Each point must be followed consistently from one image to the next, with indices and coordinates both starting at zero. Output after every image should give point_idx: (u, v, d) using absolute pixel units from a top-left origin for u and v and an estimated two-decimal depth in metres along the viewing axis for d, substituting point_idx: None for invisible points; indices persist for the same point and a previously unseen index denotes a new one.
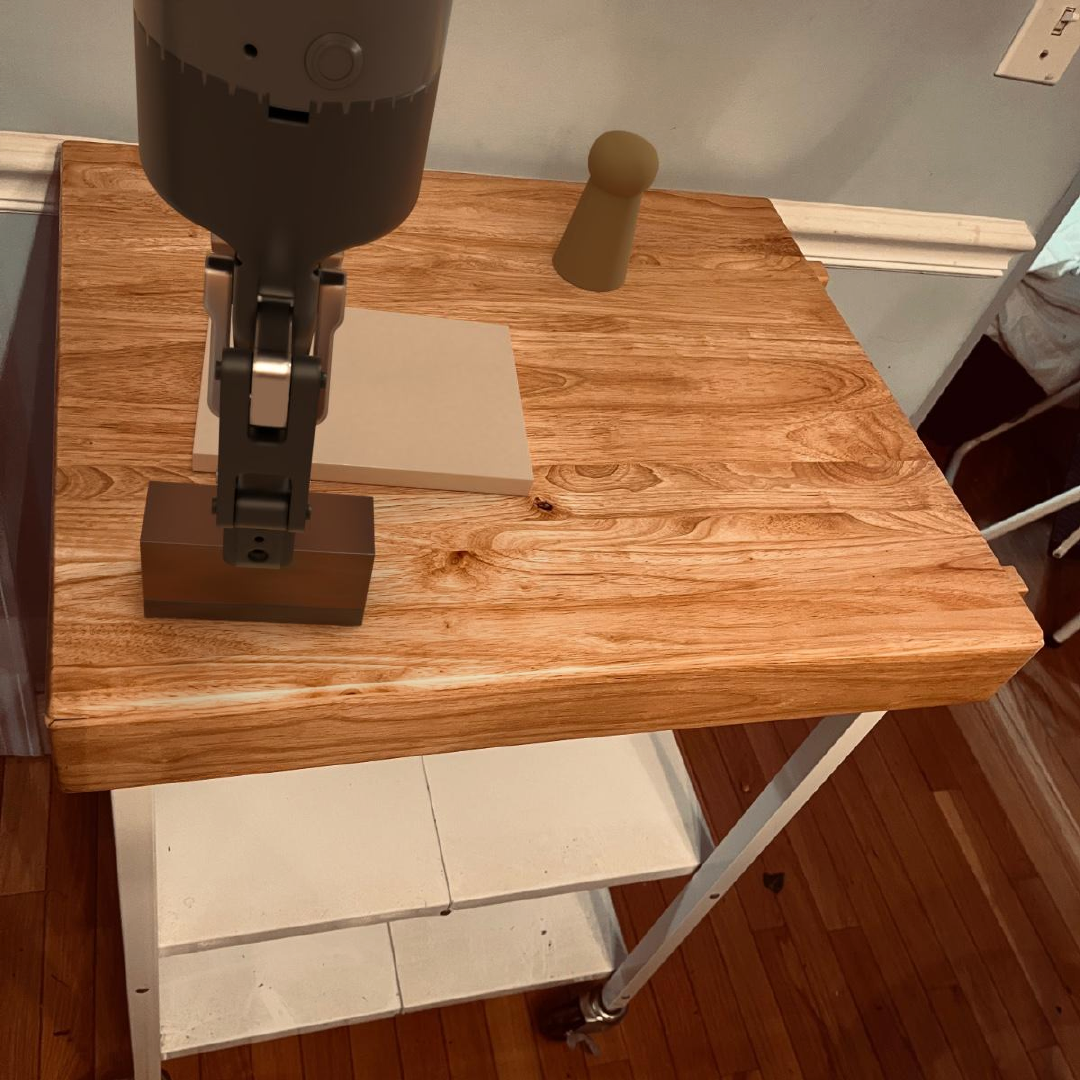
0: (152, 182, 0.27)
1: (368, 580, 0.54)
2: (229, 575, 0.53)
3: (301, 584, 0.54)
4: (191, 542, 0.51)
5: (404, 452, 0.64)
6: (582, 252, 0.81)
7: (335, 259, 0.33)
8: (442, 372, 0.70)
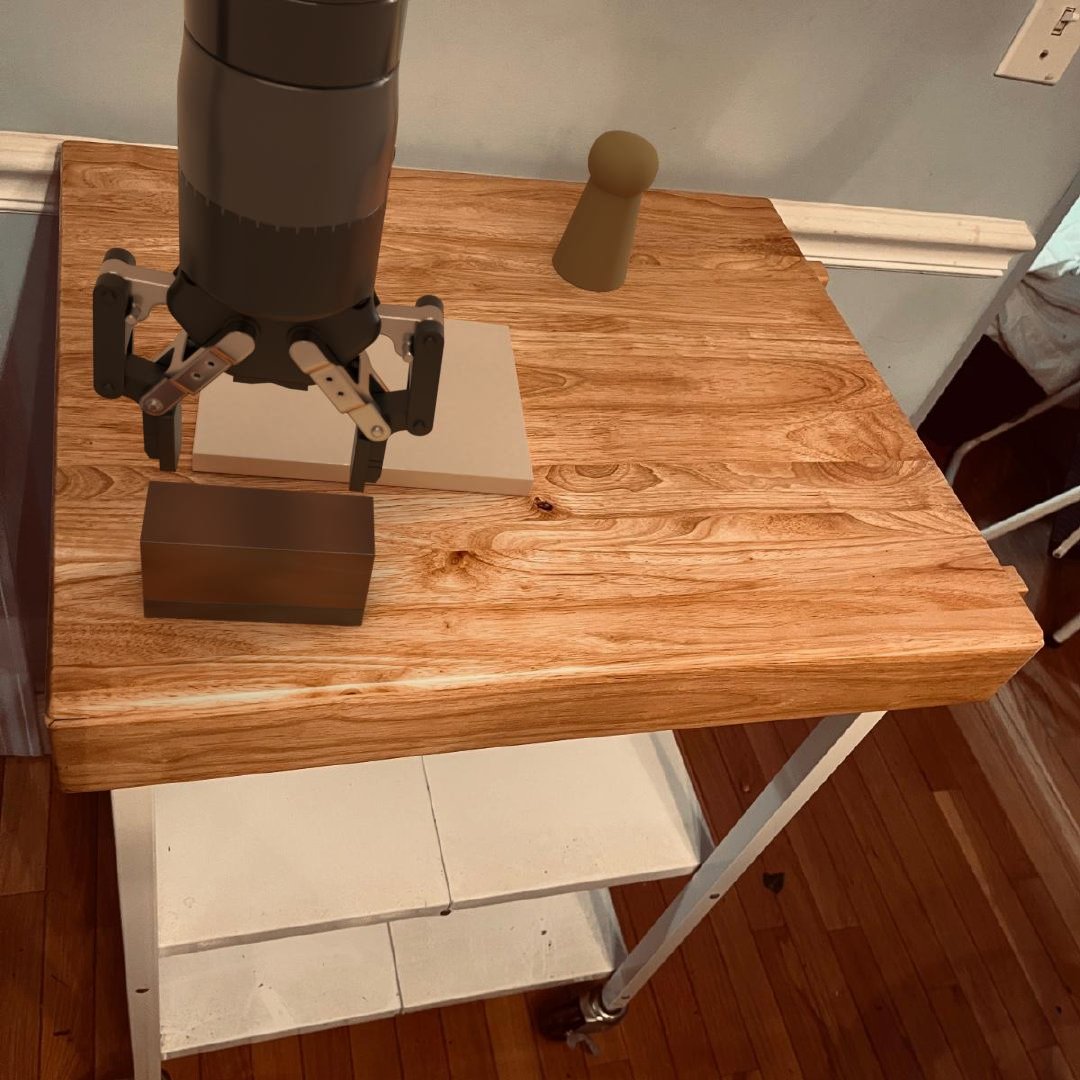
0: (325, 313, 0.40)
1: (368, 580, 0.54)
2: (229, 575, 0.53)
3: (301, 584, 0.54)
4: (191, 542, 0.51)
5: (404, 452, 0.64)
6: (582, 252, 0.81)
7: None
8: (442, 372, 0.70)
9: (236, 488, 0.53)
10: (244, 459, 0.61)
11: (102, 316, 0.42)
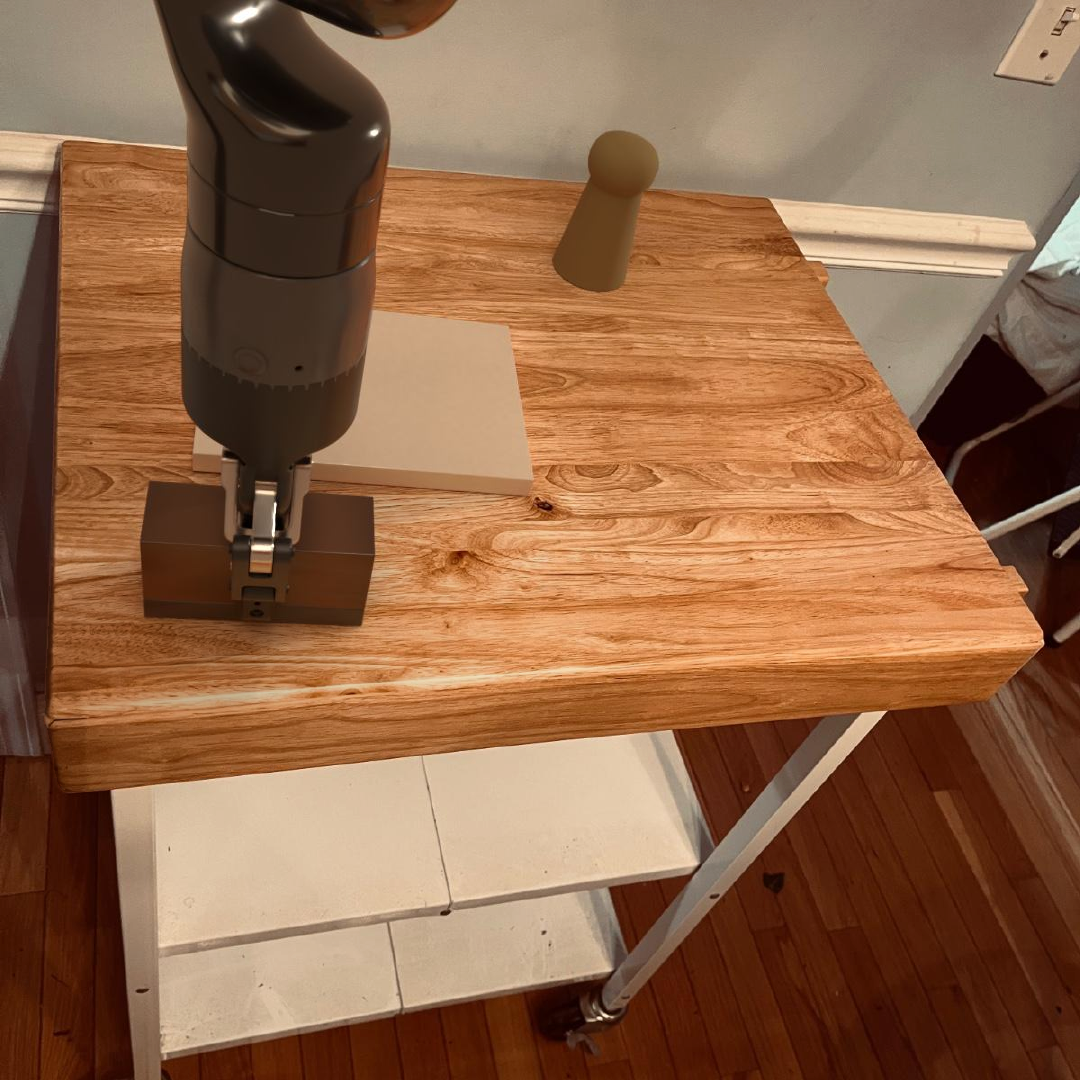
0: None
1: (368, 580, 0.54)
2: (229, 575, 0.53)
3: (301, 585, 0.54)
4: (191, 542, 0.51)
5: (404, 452, 0.64)
6: (582, 252, 0.81)
7: None
8: (442, 372, 0.70)
9: None
10: None
11: None
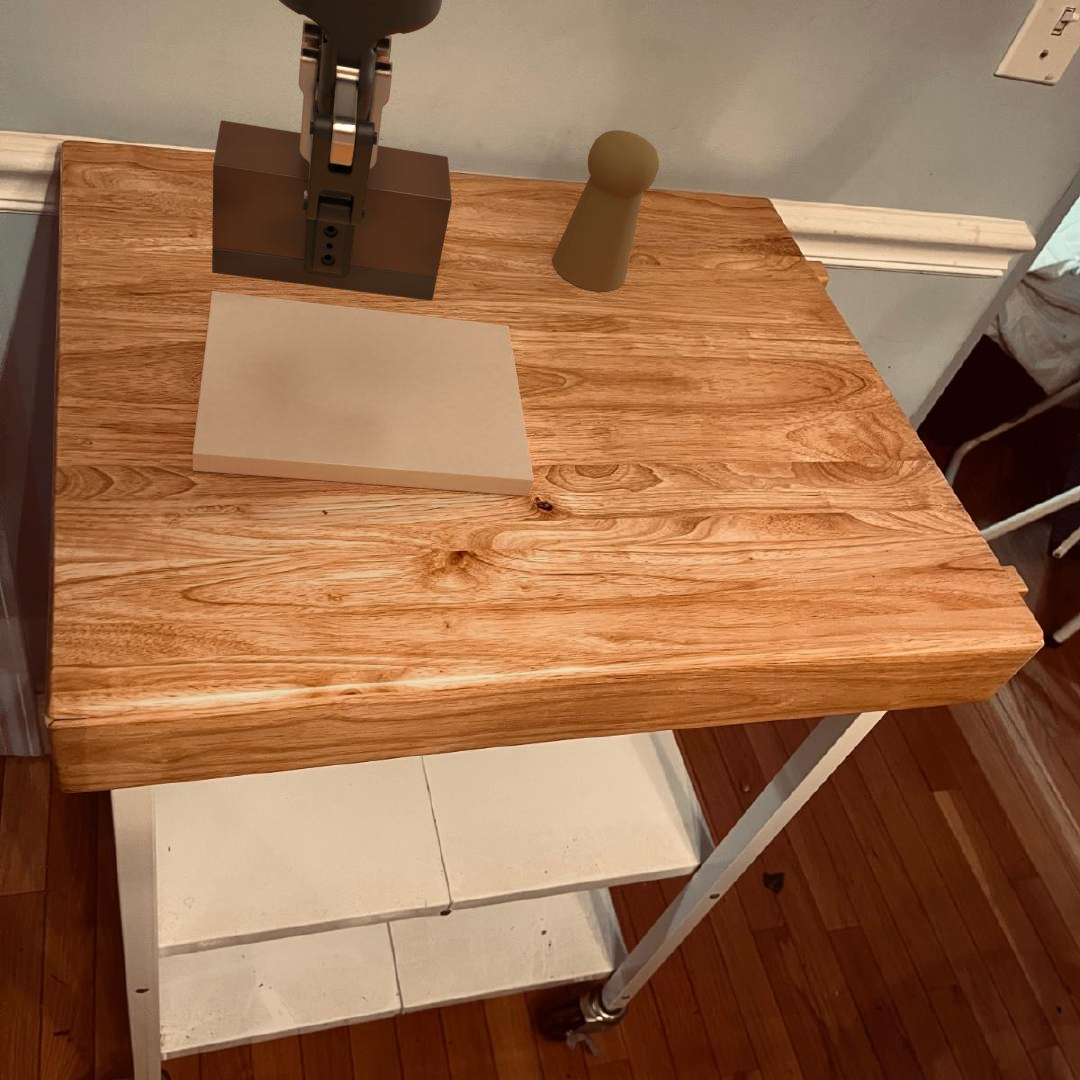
0: None
1: (443, 235, 0.53)
2: (301, 218, 0.51)
3: (374, 237, 0.52)
4: (265, 170, 0.49)
5: (404, 452, 0.64)
6: (582, 252, 0.81)
7: None
8: (442, 372, 0.70)
9: None
10: (244, 459, 0.61)
11: None
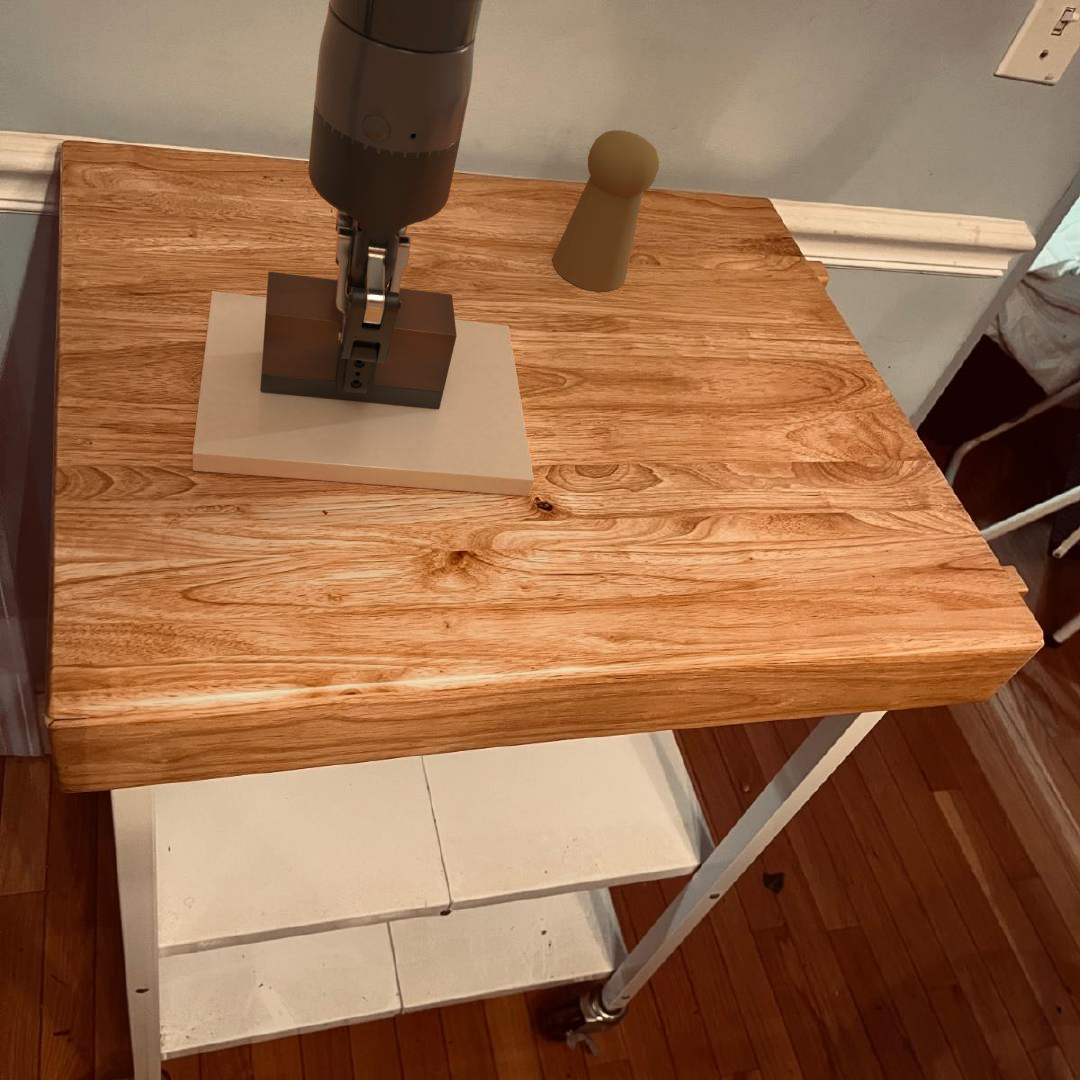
0: None
1: (449, 361, 0.65)
2: (335, 351, 0.63)
3: (393, 363, 0.64)
4: (307, 316, 0.61)
5: (404, 452, 0.64)
6: (582, 252, 0.81)
7: None
8: None
9: None
10: (244, 459, 0.61)
11: None
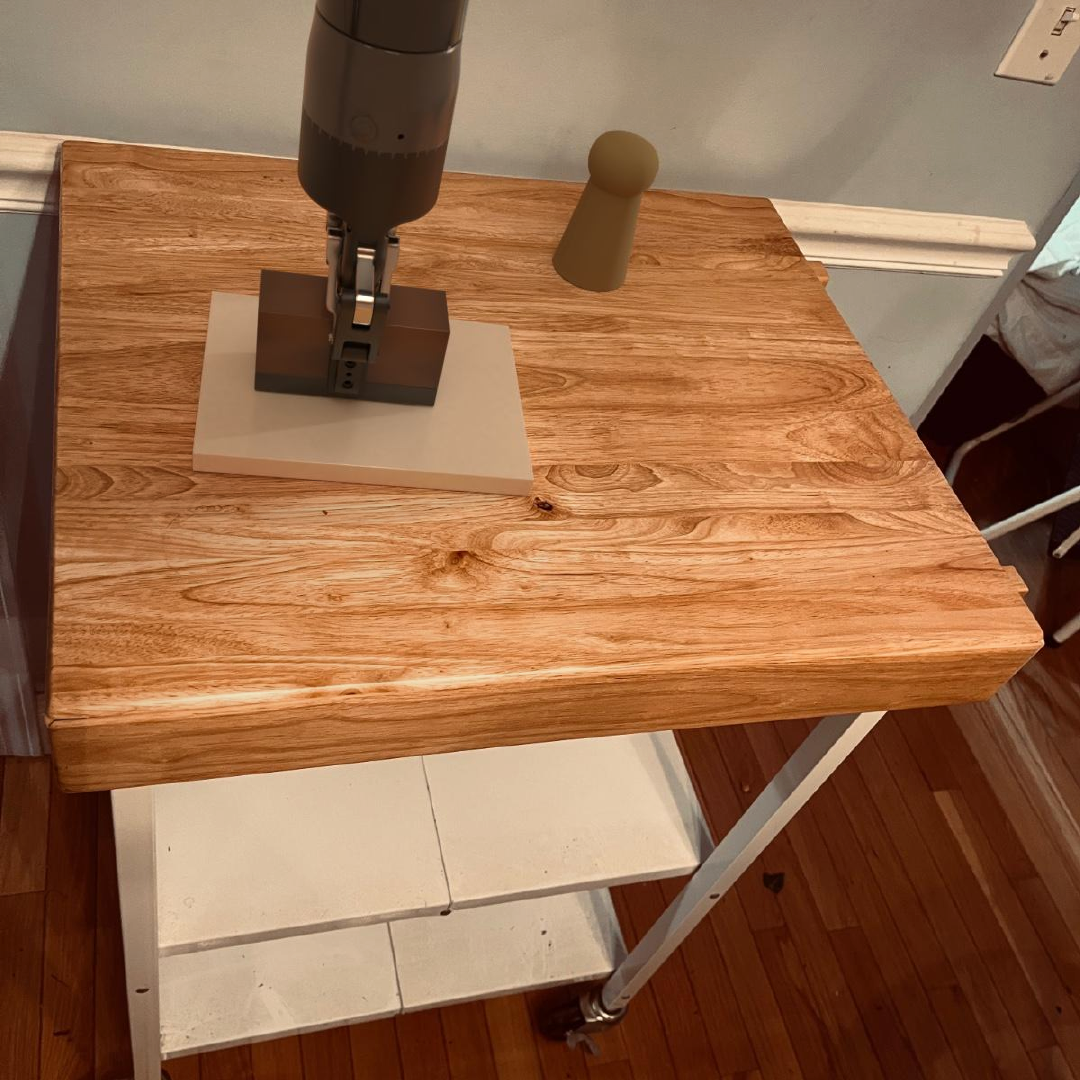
0: None
1: (443, 357, 0.64)
2: (328, 348, 0.63)
3: (387, 360, 0.64)
4: (299, 313, 0.61)
5: (404, 452, 0.64)
6: (582, 252, 0.81)
7: None
8: (442, 372, 0.70)
9: None
10: (244, 459, 0.61)
11: None
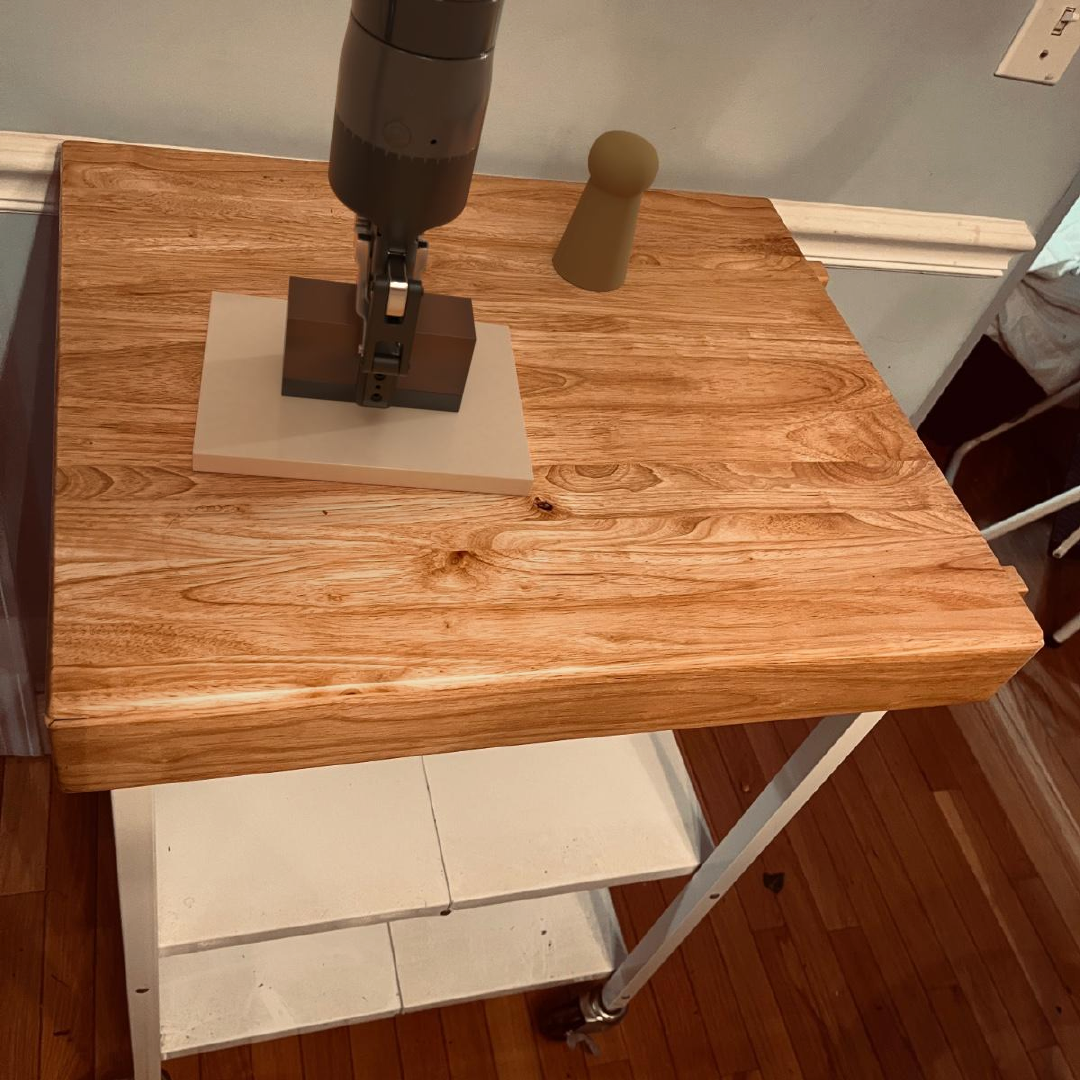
0: None
1: (468, 364, 0.65)
2: (356, 355, 0.63)
3: (413, 367, 0.64)
4: (328, 320, 0.61)
5: (404, 452, 0.64)
6: (582, 252, 0.81)
7: None
8: None
9: None
10: (244, 459, 0.61)
11: None
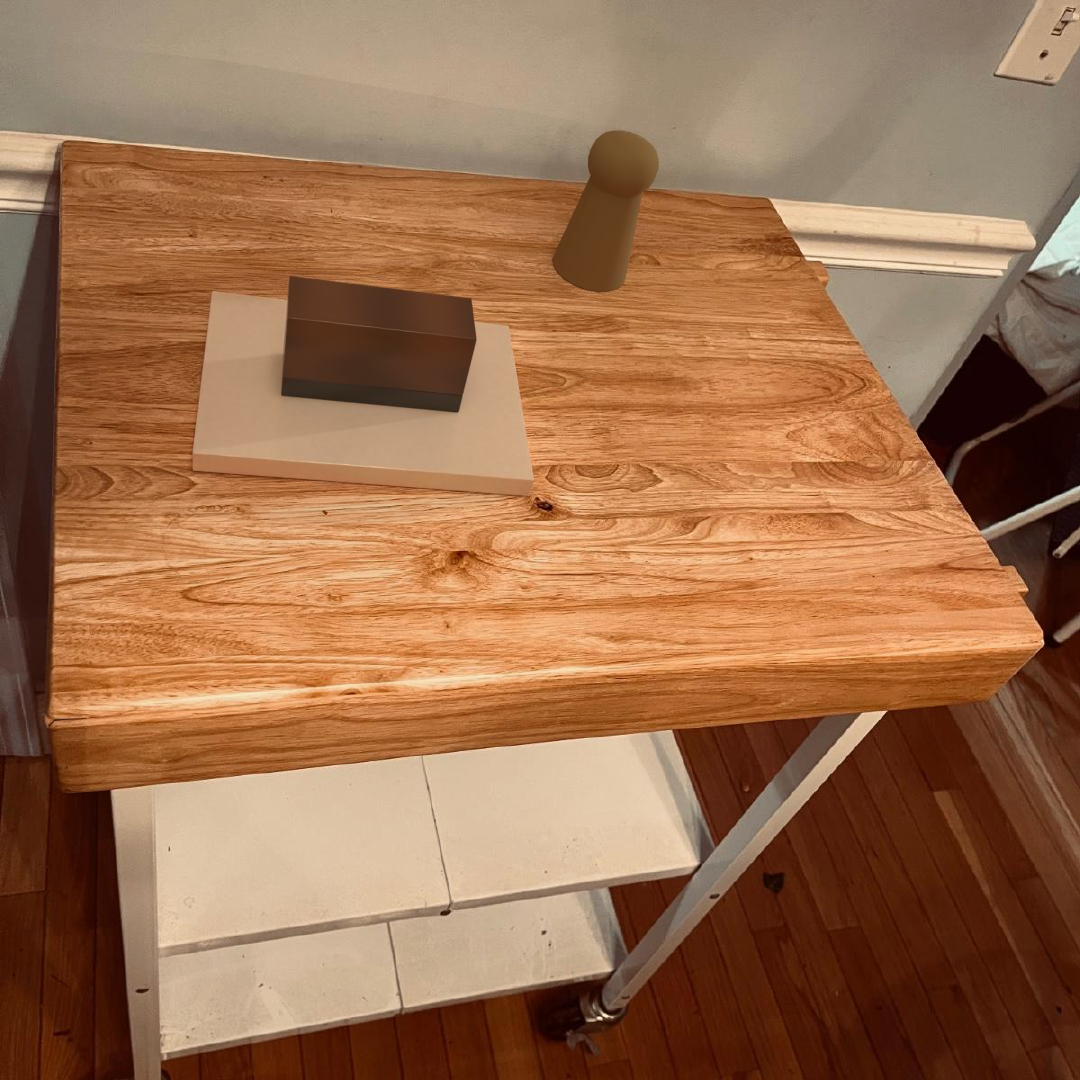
0: None
1: (468, 364, 0.65)
2: (356, 355, 0.63)
3: (413, 367, 0.64)
4: (328, 320, 0.61)
5: (404, 452, 0.64)
6: (582, 252, 0.81)
7: None
8: None
9: (360, 285, 0.64)
10: (244, 459, 0.61)
11: None
